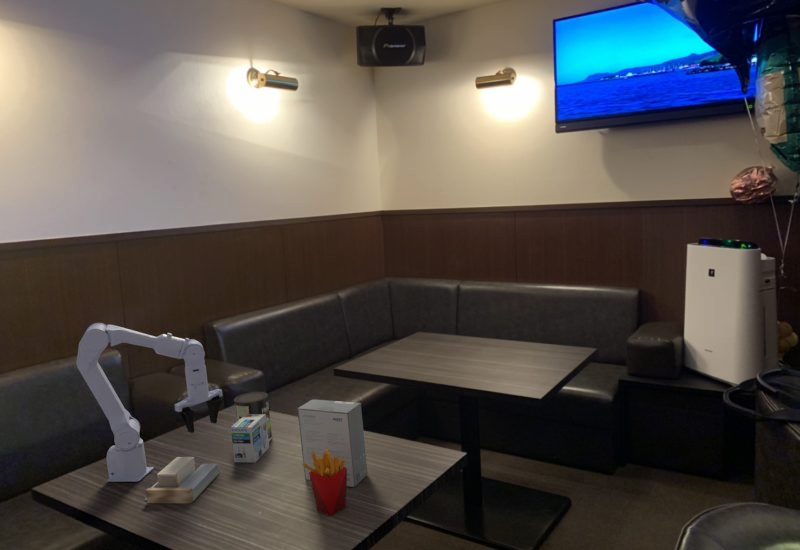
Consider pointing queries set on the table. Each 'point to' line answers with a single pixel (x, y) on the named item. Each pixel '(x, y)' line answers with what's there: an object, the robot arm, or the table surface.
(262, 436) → the light bulb box
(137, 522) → the table surface
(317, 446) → the hard drive box
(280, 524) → the table surface
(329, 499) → the french fries
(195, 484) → the two-layer flat tile
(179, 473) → the cream rectangular block
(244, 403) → the coffee can
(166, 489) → the shelf rail
